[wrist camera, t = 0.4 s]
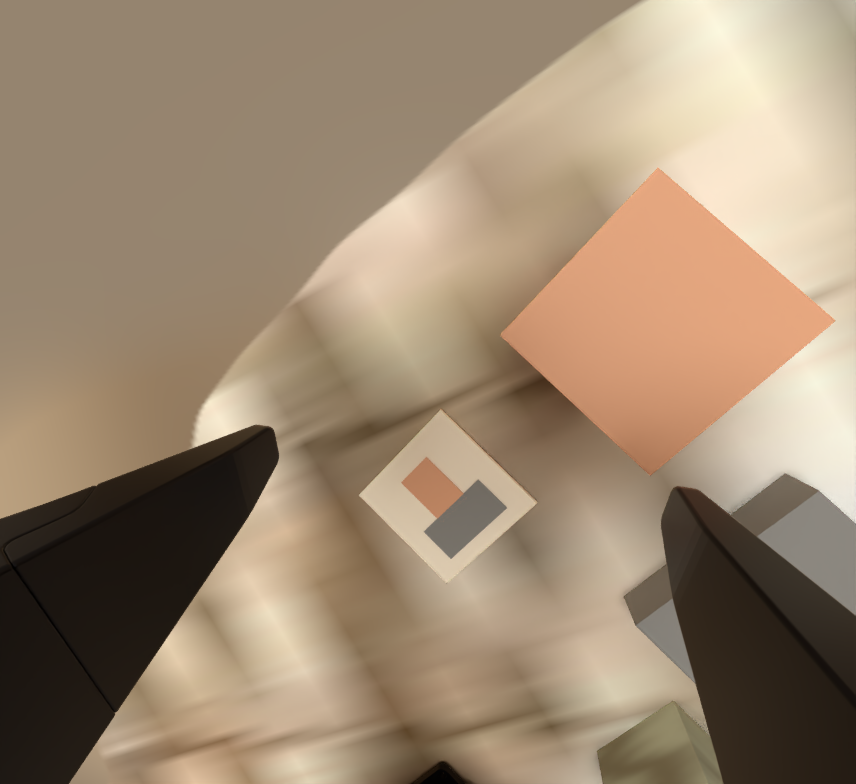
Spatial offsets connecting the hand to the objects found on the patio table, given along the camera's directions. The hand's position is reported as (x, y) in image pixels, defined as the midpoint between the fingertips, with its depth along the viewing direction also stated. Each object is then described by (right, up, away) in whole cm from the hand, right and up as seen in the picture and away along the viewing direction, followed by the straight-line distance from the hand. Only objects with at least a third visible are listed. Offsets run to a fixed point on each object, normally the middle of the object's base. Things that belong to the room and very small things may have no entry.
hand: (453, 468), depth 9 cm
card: (0, -5, +17) cm, 18 cm away
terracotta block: (+8, +5, +14) cm, 17 cm away
